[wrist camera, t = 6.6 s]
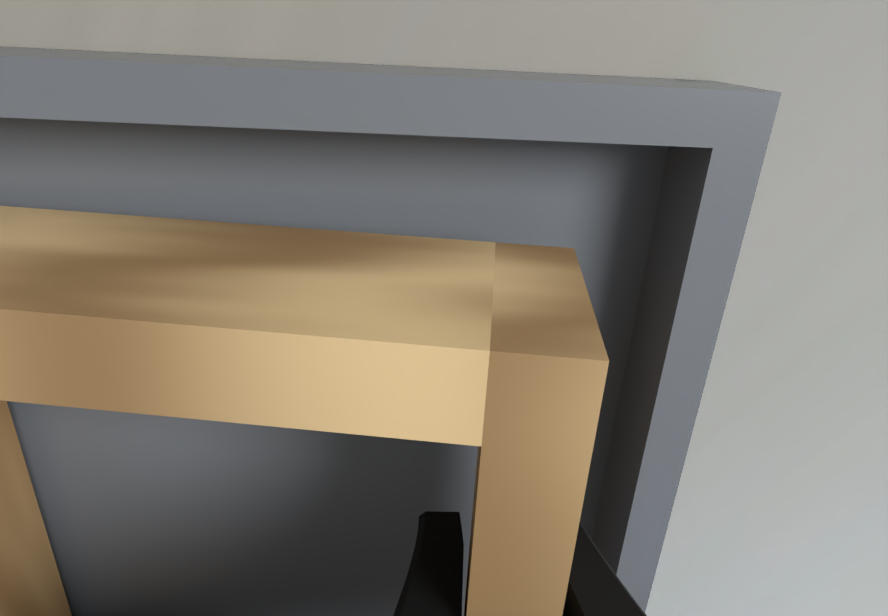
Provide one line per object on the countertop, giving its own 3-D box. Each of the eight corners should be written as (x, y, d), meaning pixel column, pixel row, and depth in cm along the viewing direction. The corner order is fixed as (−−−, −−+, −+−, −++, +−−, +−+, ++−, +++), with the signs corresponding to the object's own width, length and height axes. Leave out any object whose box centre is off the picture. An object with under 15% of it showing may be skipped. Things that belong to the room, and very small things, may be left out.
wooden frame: (573, 248, 9) (638, 455, 5) (507, 715, 14) (507, 1040, 10) (-123, 196, 10) (-642, 333, 5) (38, 656, 15) (-168, 931, 10)
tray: (713, 80, 11) (781, 93, 9) (583, 680, 17) (604, 766, 15) (-253, 34, 10) (-426, 34, 8) (1, 680, 16) (-58, 770, 14)
